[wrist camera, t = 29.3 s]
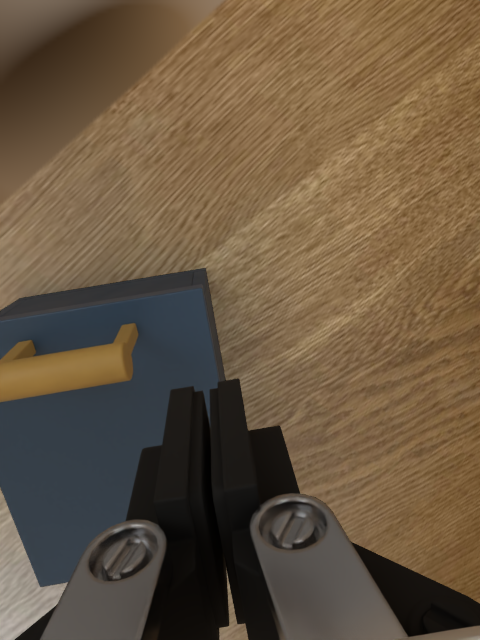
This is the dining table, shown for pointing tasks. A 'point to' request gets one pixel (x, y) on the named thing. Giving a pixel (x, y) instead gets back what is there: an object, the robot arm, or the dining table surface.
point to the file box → (122, 291)
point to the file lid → (91, 411)
